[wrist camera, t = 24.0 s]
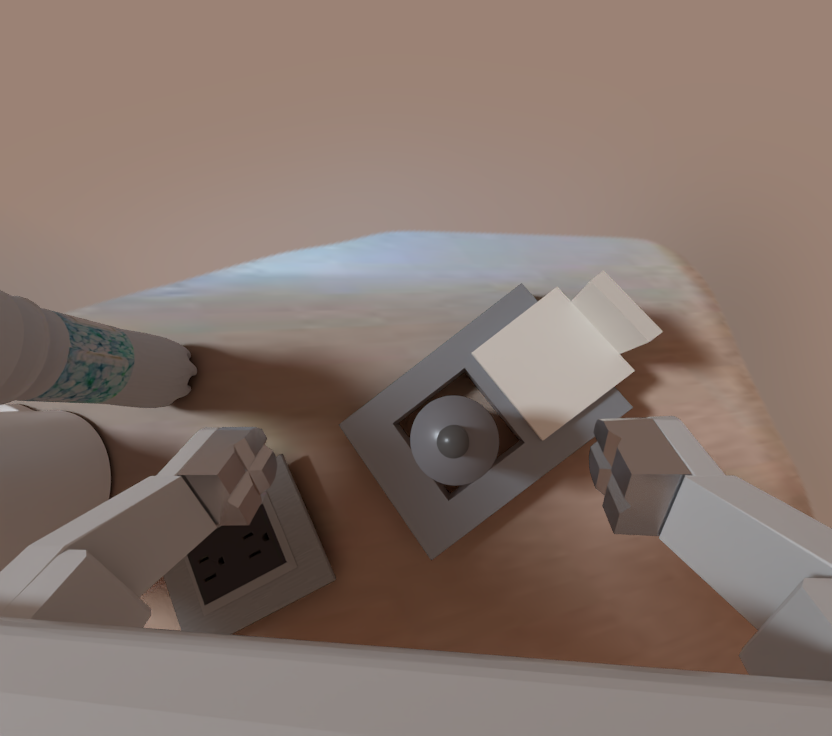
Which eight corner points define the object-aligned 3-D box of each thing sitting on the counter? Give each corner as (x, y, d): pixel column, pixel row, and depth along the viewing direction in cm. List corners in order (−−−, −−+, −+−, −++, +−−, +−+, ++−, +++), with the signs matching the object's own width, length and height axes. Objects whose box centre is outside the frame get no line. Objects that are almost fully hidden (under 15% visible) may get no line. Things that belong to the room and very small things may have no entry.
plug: (452, 474, 28) (444, 513, 17) (416, 426, 29) (385, 431, 18) (499, 438, 28) (523, 452, 17) (462, 391, 29) (461, 373, 17)
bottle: (205, 335, 33) (-180, 212, 13) (206, 406, 32) (-212, 388, 12) (142, 345, 34) (-311, 242, 14) (141, 414, 32) (-351, 409, 13)
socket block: (434, 547, 27) (431, 560, 25) (348, 424, 30) (338, 424, 27) (617, 408, 27) (633, 407, 24) (516, 294, 29) (521, 283, 27)
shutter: (541, 439, 25) (558, 445, 20) (471, 354, 26) (472, 341, 22) (642, 363, 25) (681, 351, 20) (565, 281, 26) (586, 253, 22)
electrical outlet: (293, 451, 30) (278, 454, 28) (344, 568, 28) (333, 582, 26) (168, 520, 31) (143, 528, 29) (209, 638, 29) (186, 658, 27)
